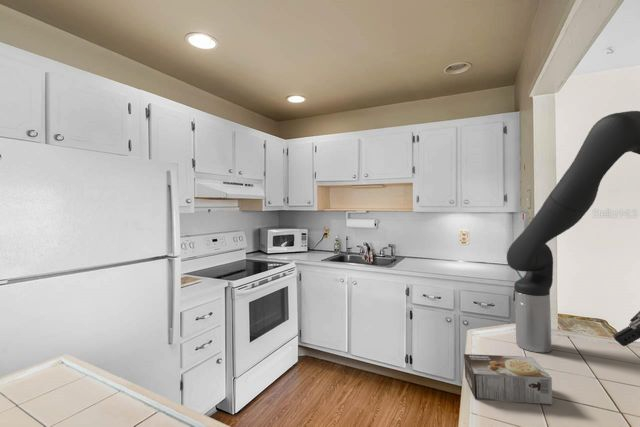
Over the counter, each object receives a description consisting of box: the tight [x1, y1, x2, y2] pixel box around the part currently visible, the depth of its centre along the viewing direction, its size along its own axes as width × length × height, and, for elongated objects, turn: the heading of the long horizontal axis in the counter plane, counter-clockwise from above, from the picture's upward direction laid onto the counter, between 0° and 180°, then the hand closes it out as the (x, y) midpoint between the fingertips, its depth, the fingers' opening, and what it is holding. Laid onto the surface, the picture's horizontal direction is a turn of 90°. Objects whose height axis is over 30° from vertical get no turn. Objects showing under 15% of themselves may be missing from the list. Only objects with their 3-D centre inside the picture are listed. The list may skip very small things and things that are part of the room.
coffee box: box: [463, 353, 553, 405], centre depth 73 cm, size 9×6×16 cm
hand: (617, 341), depth 64 cm, fingers closed
